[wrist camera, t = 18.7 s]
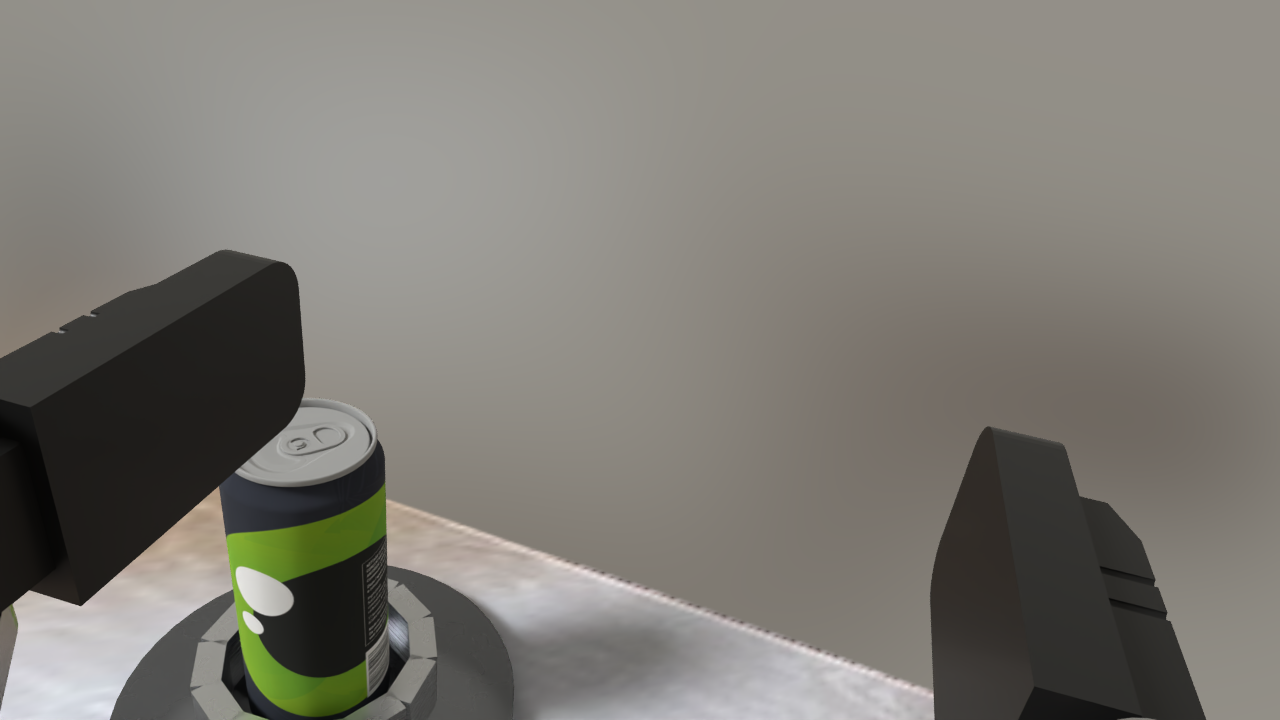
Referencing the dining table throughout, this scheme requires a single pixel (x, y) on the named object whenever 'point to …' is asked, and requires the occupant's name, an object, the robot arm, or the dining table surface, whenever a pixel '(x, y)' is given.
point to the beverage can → (311, 565)
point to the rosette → (405, 716)
